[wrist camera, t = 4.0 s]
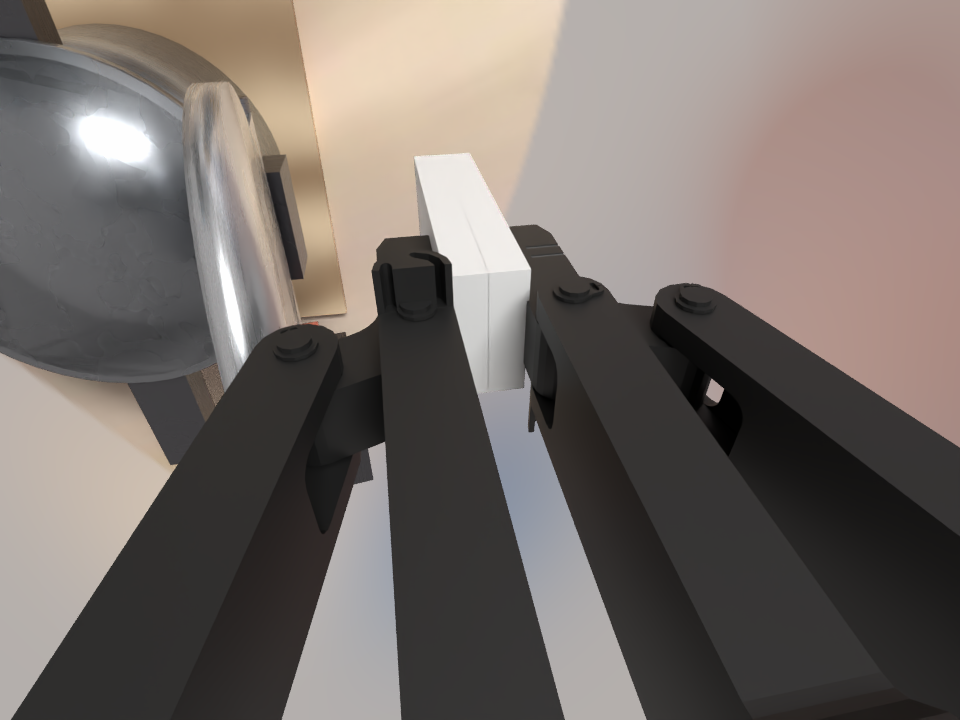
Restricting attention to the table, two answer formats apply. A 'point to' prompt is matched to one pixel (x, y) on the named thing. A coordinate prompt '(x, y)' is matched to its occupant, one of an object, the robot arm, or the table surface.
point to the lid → (236, 230)
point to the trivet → (266, 82)
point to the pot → (110, 213)
